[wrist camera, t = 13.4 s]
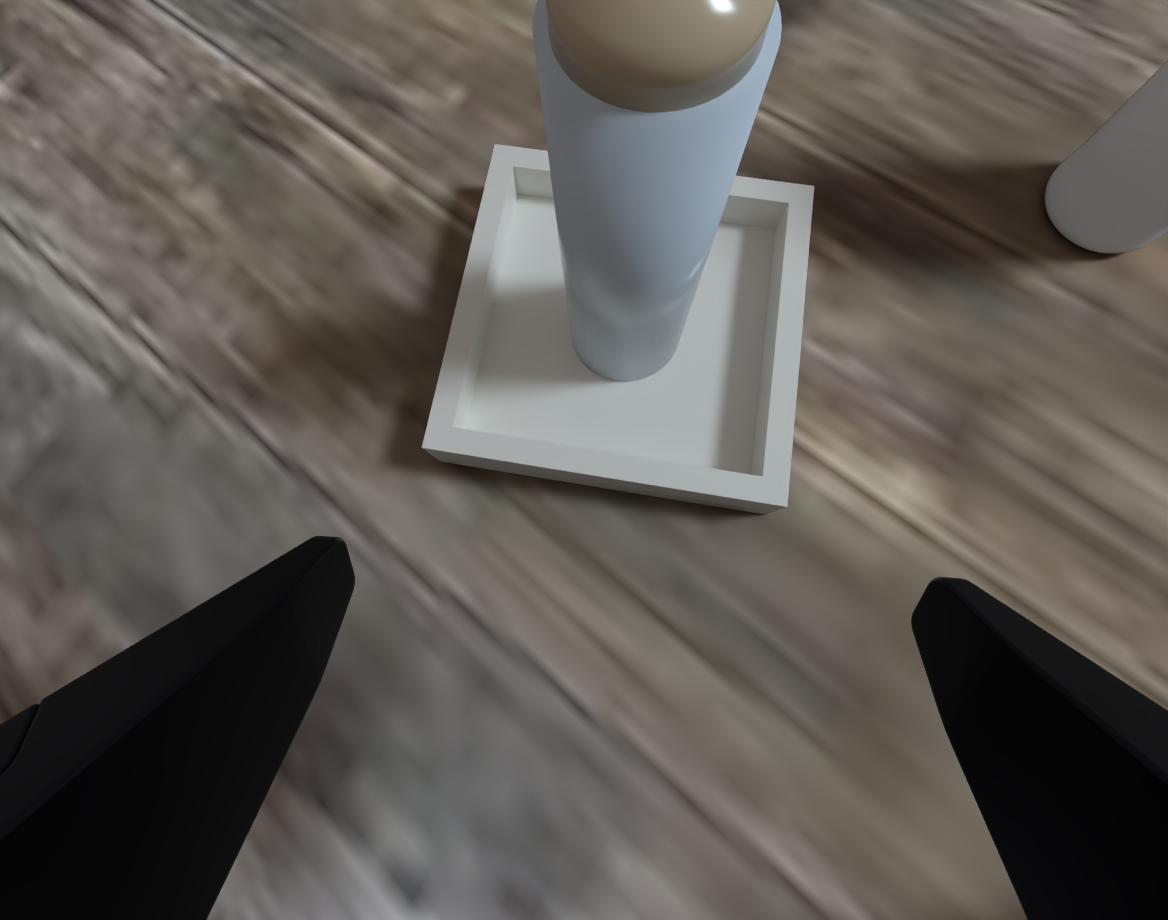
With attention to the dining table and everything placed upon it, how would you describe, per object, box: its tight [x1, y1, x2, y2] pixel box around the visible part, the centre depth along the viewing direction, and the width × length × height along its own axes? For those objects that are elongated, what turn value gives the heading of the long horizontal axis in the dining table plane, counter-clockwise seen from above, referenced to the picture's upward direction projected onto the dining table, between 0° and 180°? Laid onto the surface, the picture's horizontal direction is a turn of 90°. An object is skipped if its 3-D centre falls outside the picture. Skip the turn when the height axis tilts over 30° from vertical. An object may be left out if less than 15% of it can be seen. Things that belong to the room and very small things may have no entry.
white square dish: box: [422, 144, 814, 515], centre depth 22 cm, size 14×14×2 cm
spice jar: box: [533, 0, 782, 381], centre depth 16 cm, size 5×5×14 cm
